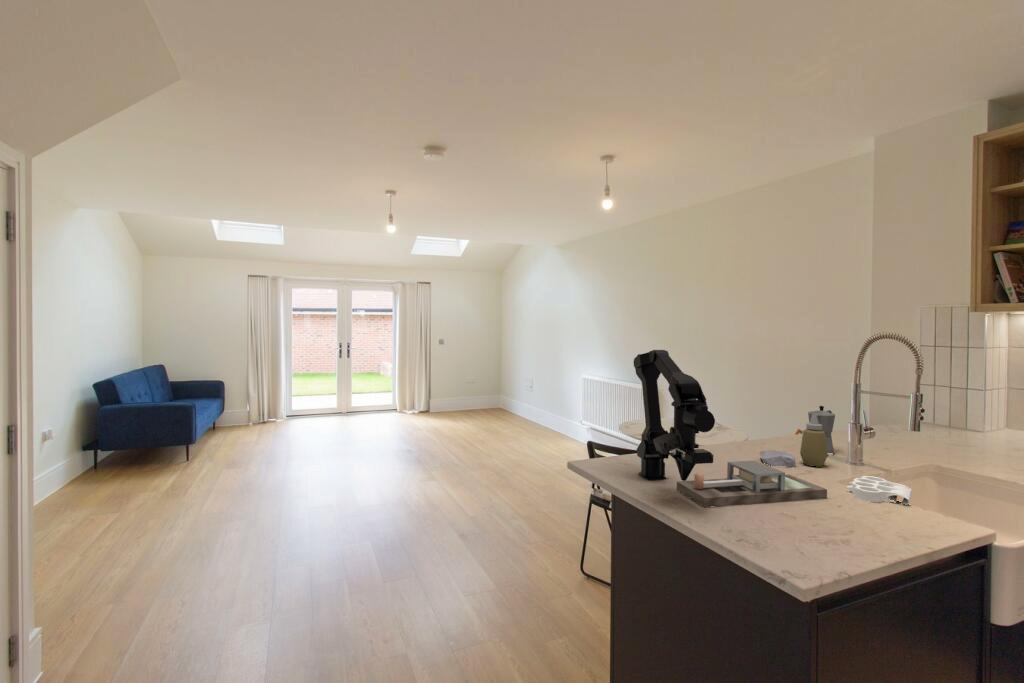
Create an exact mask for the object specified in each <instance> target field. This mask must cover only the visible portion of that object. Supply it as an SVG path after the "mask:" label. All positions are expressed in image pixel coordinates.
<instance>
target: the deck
mask: <svg viewBox="0 0 1024 683" xmlns="http://www.w3.org/2000/svg"><path fill="white" fill-rule="evenodd" d="M719 480H728V479H727V478H726V477H724V478H715V479H712V478H711V479H709V478H708V479H704V481H719ZM772 480H774V481H776V482H778V475H775V476H772ZM694 482H695V479H694V480H686V481H683V480H680V481H679V480H678V481H676V491H678V492H679V491H680V492H679V493H681V494H682V493H683V495H684V494H685V495H684V496H686V497H687V496H688V497H687V498H689V497H690V498H691V499H690V498H689V499H690V500H692V499H693V500H692V501H693V502H695V501H696V502H695V503H697V502H698V503H697V504H699V505H700V504H701V505H700V506H701V507H703V506H704V508H712V507H711V506H718V507H727V505H731V506H740V505H741V506H742V505H743V504H744V505H755V504H757V505H758V504H770V503H781V502H783V503H784V502H795V501H796V502H797V501H807V500H808V501H809V500H821V499H824V500H825V499H828V489H827V488H824V487H821V486H819V485H817V484H814V483H812V482H809V481H807V480H804V479H801V478H798V477H796V476H794V475H791V474H785V491H782V492H781V491H779V490H778V488H770V489H760V493H754V492H753V490H752V489H749V488H747V487H745V486H743V485H738V486H723V487H708V488H704V489H696V488H695V487H694Z"/></svg>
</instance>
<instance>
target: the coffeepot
mask: <svg viewBox="0 0 1024 683" xmlns="http://www.w3.org/2000/svg"><path fill="white" fill-rule="evenodd" d="M824 408H825V406H823V405H819V410H813V411H808V413H807V417H808V421H809V422H808V423H810V421H811V417H812V414H817V418H818V423H819V424H821V425H822V431H824V432H825V436H826V447H827V453H834V454H835V452H834V446H833V445H834V444H833V438H832V432H833V429H834V424H835V419H836V414H835V413H833V412H832V411H831V410H825V409H824Z"/></svg>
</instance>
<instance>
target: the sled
mask: <svg viewBox="0 0 1024 683" xmlns="http://www.w3.org/2000/svg"><path fill="white" fill-rule="evenodd" d="M704 476H705V474H703V473H699V472H697V473H694V480H695V482H694V487H695V488H696V489H704V488H708V487H723V486H738V485H743V486H745V487H747V488H749V489H752V490H753V484H752V483H750V482H748V481H746V480H744V479H742V478H739V474H734V475H733V480H719V481H704V480H705V477H704ZM770 488H778V482H776V481H774V480H772V482H769V483H760V489H770Z"/></svg>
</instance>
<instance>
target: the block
mask: <svg viewBox="0 0 1024 683" xmlns="http://www.w3.org/2000/svg"><path fill="white" fill-rule="evenodd" d="M738 475H739V478H742V479H744V480H746V481H748V482H750V483H752V484H753V475H752V474H749V473H747V472H745V471H742V470H740V469H738ZM769 482H772V476H760V483H769Z"/></svg>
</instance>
